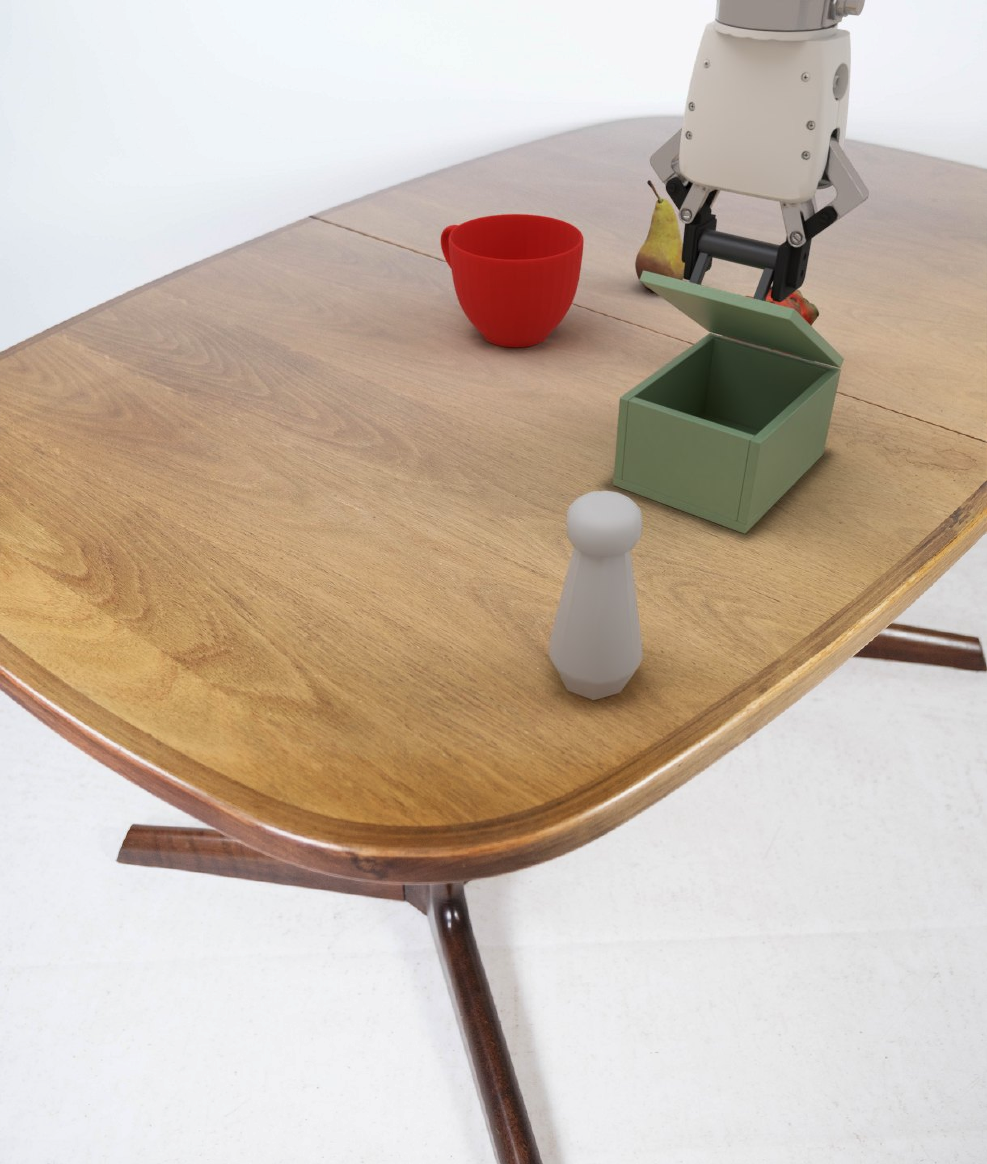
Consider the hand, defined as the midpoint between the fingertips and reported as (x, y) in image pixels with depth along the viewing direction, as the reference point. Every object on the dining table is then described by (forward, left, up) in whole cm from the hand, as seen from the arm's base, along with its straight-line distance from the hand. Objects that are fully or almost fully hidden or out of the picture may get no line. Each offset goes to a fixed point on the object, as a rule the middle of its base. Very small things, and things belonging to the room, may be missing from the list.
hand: (739, 282), depth 77 cm
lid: (-2, -1, -4) cm, 5 cm away
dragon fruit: (-14, -15, -16) cm, 26 cm away
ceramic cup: (+6, -33, -16) cm, 37 cm away
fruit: (-14, -37, -16) cm, 43 cm away
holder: (-1, -1, -16) cm, 16 cm away
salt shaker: (+19, +19, -16) cm, 31 cm away
